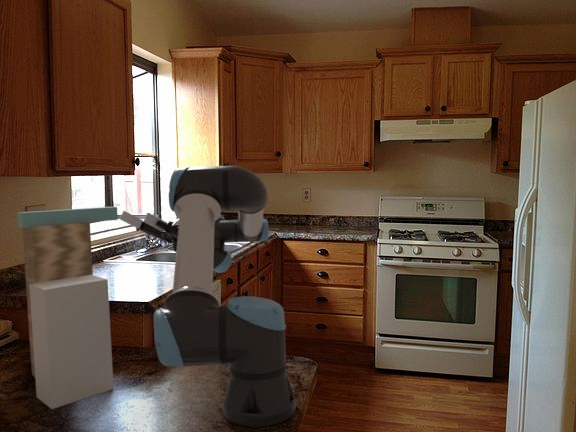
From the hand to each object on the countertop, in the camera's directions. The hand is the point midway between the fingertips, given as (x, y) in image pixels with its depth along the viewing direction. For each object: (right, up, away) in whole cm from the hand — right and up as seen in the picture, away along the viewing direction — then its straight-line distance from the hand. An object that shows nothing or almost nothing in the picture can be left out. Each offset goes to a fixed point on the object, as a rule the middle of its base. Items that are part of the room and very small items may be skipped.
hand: (133, 216), depth 144 cm
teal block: (-12, -2, -12) cm, 18 cm away
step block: (-5, -41, -26) cm, 49 cm away
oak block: (-14, -40, -12) cm, 44 cm away
